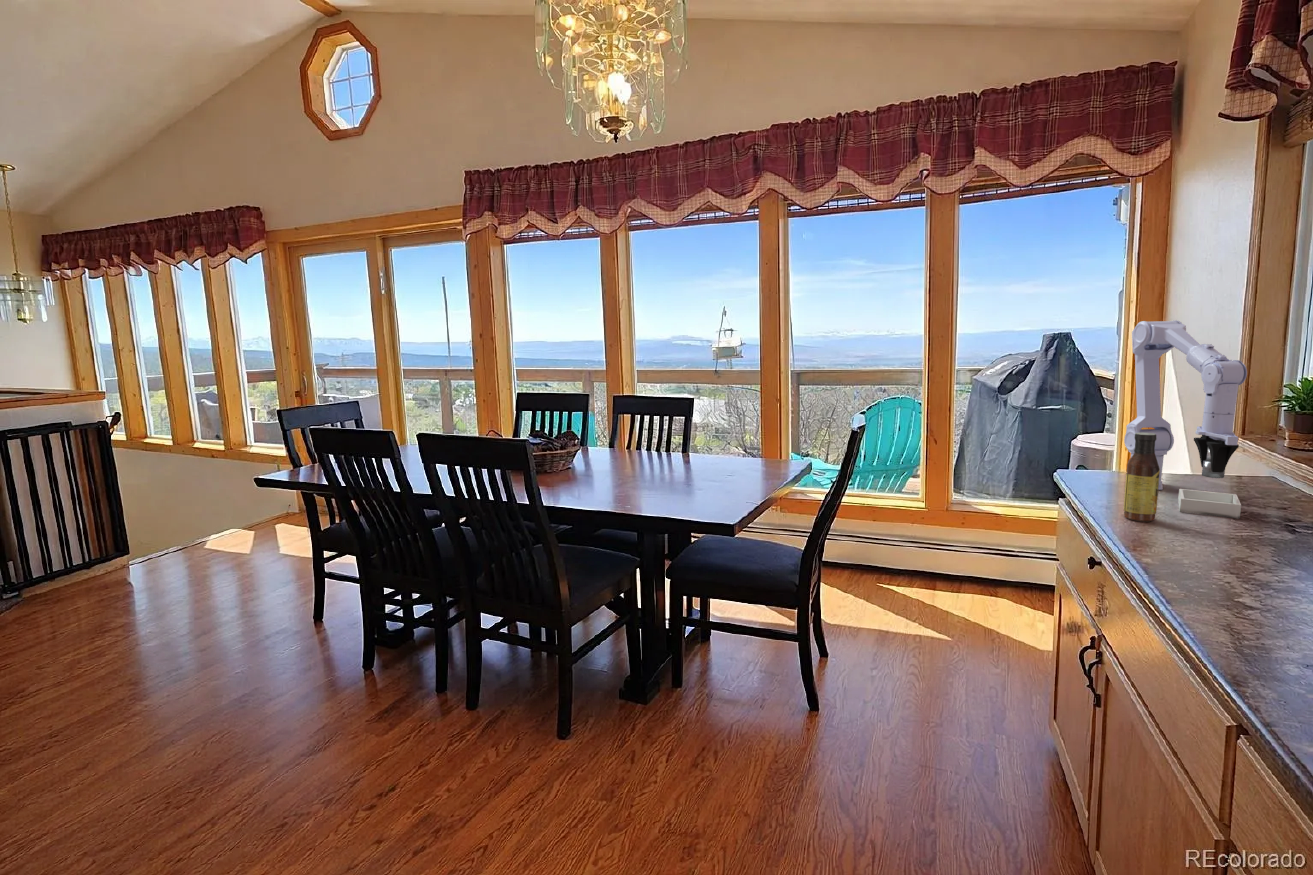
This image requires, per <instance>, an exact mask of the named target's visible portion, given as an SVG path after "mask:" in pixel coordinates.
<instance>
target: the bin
mask: <svg viewBox="0 0 1313 875" xmlns="http://www.w3.org/2000/svg"><path fill="white" fill-rule="evenodd" d="M1177 501H1178V502H1177V504H1178V510H1179V512H1180V513H1187V514H1193V515H1194V514H1196V515H1203V516H1212V517H1220V518H1221V517H1223V518H1231V519H1238V520H1239V519H1240V518H1241V510H1242V504H1241V502H1240V499H1239V497H1238V495H1237V493H1227V492H1216V491H1215V492H1214V491H1205V490H1196V489H1187V488H1179V489H1178V498H1177Z"/></svg>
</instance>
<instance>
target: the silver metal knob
mask: <svg viewBox="0 0 1313 875" xmlns="http://www.w3.org/2000/svg"><path fill="white" fill-rule="evenodd" d="M1225 473H1226V469H1225V470H1224V472H1223V473H1222V472H1212V470H1211V456H1210V451H1209V448H1208V450H1207V458H1206V460H1204V461H1203V467H1201V476H1202V477H1205V478H1212V479H1223V478H1225V475H1226V474H1225Z"/></svg>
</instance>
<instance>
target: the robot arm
mask: <svg viewBox="0 0 1313 875" xmlns="http://www.w3.org/2000/svg"><path fill="white" fill-rule="evenodd" d="M1131 342H1132V343H1131V344H1132V345H1131V346H1132V354H1134V360H1135V362H1134V364H1135V365H1134V367H1135V370H1134V371H1135V390H1136V391H1135V393H1136V395H1135V396H1136V399H1135V400H1136V417H1135V419H1133V420H1132V421H1130V422H1129V423H1128V424H1127V425H1126V427H1125V428H1126V431H1125V434H1124V439H1123V440H1124V445H1125V448H1126V450H1127V451H1128V452H1129V453H1130V458H1131V457H1132V456H1133V454H1134V449H1135V433H1154V434H1156V441H1155V449H1154V450H1155V455H1156V459H1157V462H1158V465H1159V468H1160V473H1159V487H1158V491H1159V490H1160V491H1163V489H1164V488H1163V481H1162V475H1163V466H1164V457H1165V455H1166V456H1167V454H1168V452H1169V451H1171V450H1172V448H1173V447H1174V442H1175V437H1174V435H1173V433H1172V427H1171V423H1170V422H1168V420H1166V419H1164V418H1163V417H1162V410H1161V409H1162V406H1161V384H1160V383H1161V380H1160V379H1161V378H1160V358H1161V357H1162V356H1163V355H1164V354H1167V353H1169V351H1171V350H1173V348H1174V349H1177V350H1178V351H1180V352H1181V353H1183V354H1184V355H1186V357H1185V358H1186V359H1185V360H1186V362H1187V363H1188V364H1189V366H1191V367H1192V368H1194V370H1197V372H1199V373H1200V376H1201V381H1202V383H1203V392H1204V393H1205V396H1204V399H1205V400H1204V407H1203V414H1202V423H1201V426H1198V425H1197V426H1196V430H1195V434H1196V435H1198V436H1200V437H1193V441H1194V442H1195V445H1196V447H1197V450H1198V455H1199V461H1200V466H1201V468H1203V461H1204V460H1206V458H1207V450H1208V448H1209V451H1210V456H1211V470H1212V472H1222V473H1223V472H1224V470H1225V471H1226V467H1227V465H1228V463H1229V460H1230V459H1231V457H1232V455H1233V454H1234V453H1235V452H1236V450H1238V449H1239V446H1240V445H1239V443H1238V442H1239V436H1237V435H1236V434H1235V432H1233V431H1234V424H1235V413H1236V408H1237V400H1238V399H1237V398H1238V393H1239V392H1238V391H1239V386H1240V385H1242V384H1244V382H1245V381H1246V379H1247V375H1248V369H1247V366H1246V365H1245V363H1244V362H1242V360H1239V359H1238V360H1237V359H1234V360H1233V359H1229V358H1227V356H1226V355H1225V354H1222V353H1221V352H1219V351H1218V350H1217V349H1215V345H1213V344H1212V343H1211V344H1210V343H1207V344H1206V343H1201V344H1200V343H1199V342H1198V341H1197V340H1196V339H1195V338H1194V337H1193V336H1191V334H1190V333H1188V331H1187V325H1185V324H1184V323H1182V321H1180V320H1177V319H1176V320H1165V321H1164V320H1163V321H1162V320H1160V321H1156V320H1155V321H1154V320H1153V321H1146V320H1143V321H1139V322H1138V323H1137V324H1136V326H1134V329H1132V332H1131ZM1142 428H1143V429H1142ZM1148 428H1149V429H1148ZM1151 428H1152V429H1151Z"/></svg>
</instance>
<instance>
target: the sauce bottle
mask: <svg viewBox="0 0 1313 875" xmlns="http://www.w3.org/2000/svg"><path fill="white" fill-rule="evenodd" d="M1155 441H1156V434H1154V433H1135V449H1134V454H1133V456H1132V457H1131V456H1130V458H1129V459H1128V461H1127V468H1126V474H1125V484H1124V485H1125V486H1124V488H1125V489H1124V496H1123V497H1124V500H1123V511H1124V512H1123V516H1124V517H1125V518H1126V519H1128V520H1131V521H1134V522H1153V521H1154V520H1155V519H1156V514H1157V510H1158V509H1157V508H1158V497H1159V490H1158V487H1159V473H1160V468H1159V465H1158V462H1157V459H1156V455H1155V450H1154V449H1155Z"/></svg>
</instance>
